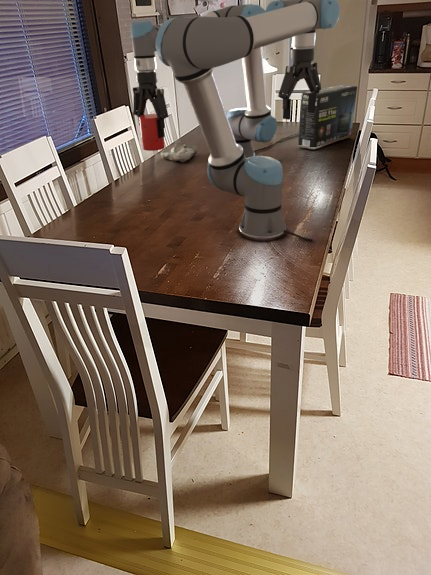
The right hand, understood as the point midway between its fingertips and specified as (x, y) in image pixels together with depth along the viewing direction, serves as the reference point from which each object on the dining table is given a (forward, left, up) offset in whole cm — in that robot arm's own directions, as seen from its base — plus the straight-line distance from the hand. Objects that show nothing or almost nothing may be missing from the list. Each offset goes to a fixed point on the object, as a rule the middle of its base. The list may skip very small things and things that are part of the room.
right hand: (299, 115), depth 161 cm
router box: (+16, -83, -30) cm, 90 cm away
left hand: (+52, +17, -8) cm, 55 cm away
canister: (+52, +18, -12) cm, 56 cm away
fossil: (+73, -28, -30) cm, 84 cm away
